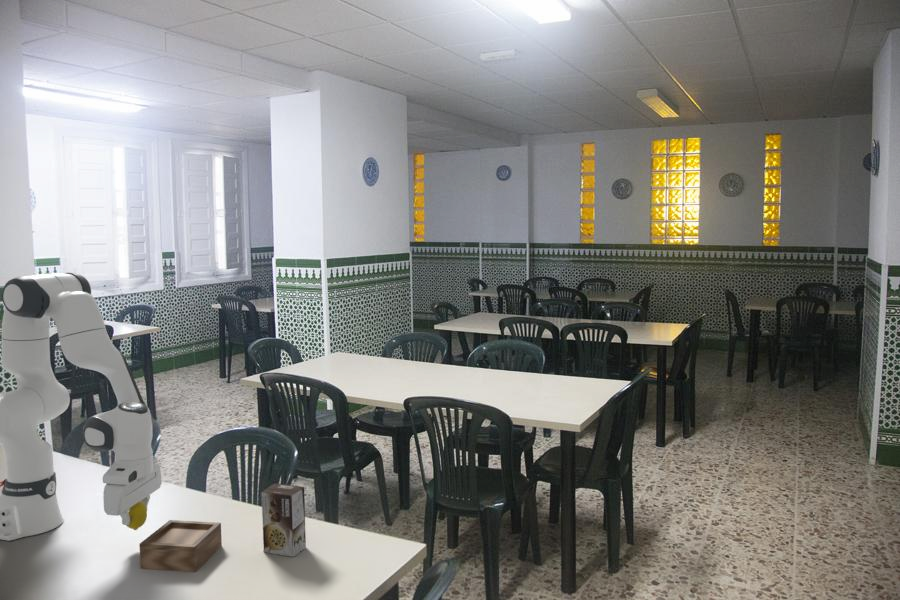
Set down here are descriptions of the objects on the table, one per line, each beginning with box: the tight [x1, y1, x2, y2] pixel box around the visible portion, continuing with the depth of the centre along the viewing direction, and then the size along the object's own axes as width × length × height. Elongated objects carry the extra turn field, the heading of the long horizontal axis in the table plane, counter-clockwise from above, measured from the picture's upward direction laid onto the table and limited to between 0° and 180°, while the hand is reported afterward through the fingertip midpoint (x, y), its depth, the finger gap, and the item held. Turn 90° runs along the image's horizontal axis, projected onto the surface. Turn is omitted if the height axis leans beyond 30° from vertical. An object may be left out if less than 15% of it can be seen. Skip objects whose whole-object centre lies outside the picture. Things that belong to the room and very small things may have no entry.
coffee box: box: [260, 483, 307, 558], centre depth 177 cm, size 9×6×16 cm
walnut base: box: [139, 519, 223, 573], centre depth 173 cm, size 14×14×6 cm
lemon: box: [125, 502, 148, 531], centre depth 179 cm, size 6×6×8 cm
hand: (135, 518), depth 179 cm, fingers closed on lemon, 6 cm apart
